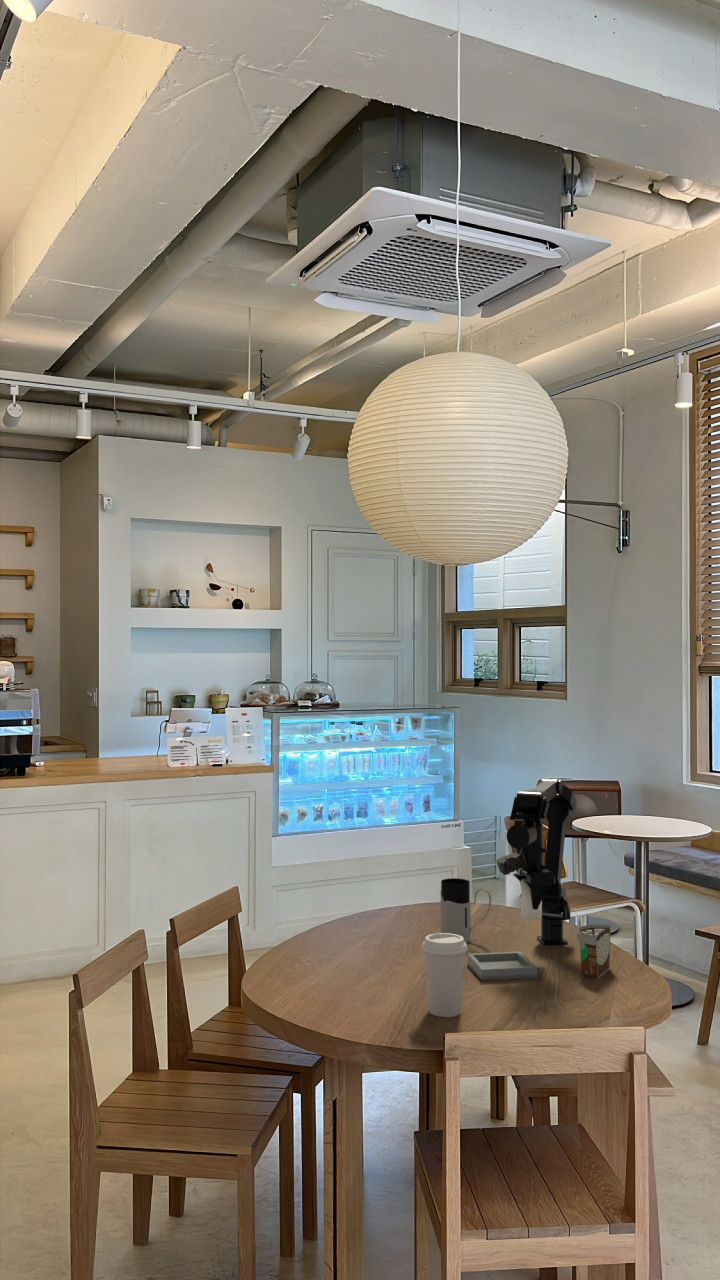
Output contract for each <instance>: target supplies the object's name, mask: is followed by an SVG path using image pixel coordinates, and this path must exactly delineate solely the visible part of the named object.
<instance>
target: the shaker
mask: <svg viewBox="0 0 720 1280" xmlns="http://www.w3.org/2000/svg"><path fill="white" fill-rule="evenodd" d="M524 881H527V879H522V880H521V883H520V892H521V894H520V895H521V896H520V897H521V899H520V901H521V902H520V903H521V904H520V905H521V909H520V910H521V912H520V913H521V917H520V918H521V919H525V920H529V921H530V920H533V921H537V920H541V919H542V900H541V903H540V905H539V907H538V909H536V910H534V909H533V907H532V901H531V895H530V888H529V887H528V886H527V885H526V884H525V883H524Z"/></svg>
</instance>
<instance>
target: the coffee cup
mask: <svg viewBox="0 0 720 1280" xmlns="http://www.w3.org/2000/svg"><path fill="white" fill-rule="evenodd" d="M468 949H469V947H468V944H467V942H464V938H463V937H462V936H460V935H457V934H451V933H441V932H438V933H431V934H428V935H426V936H425V938H424V941H422V944H421V950H422V951H423V956H424V968H425V979H426V992H427V1003H428V1004H427V1005H428V1012H429V1014H431V1015H433V1016H434V1017H440V1018H441V1017H442V1018H453V1017H458V1016H459V1015H460V1014H461V1013H462V1001H463V986H464V985H463V984H464V973H465V964H466V963H465V961H466V959H465V958H466V952H467V951H468Z"/></svg>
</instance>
